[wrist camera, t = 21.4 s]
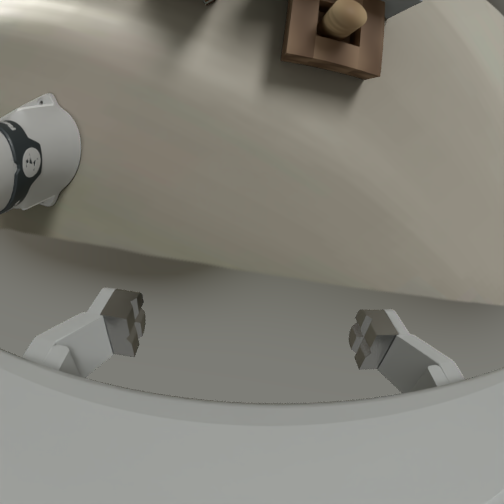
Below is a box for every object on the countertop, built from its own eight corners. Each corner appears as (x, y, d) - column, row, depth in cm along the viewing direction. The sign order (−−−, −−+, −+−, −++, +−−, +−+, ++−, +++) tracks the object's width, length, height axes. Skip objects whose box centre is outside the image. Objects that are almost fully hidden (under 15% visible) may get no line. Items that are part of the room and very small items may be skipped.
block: (280, 60, 31) (286, 52, 27) (289, -10, 26) (295, -24, 21) (364, 79, 32) (380, 76, 28) (370, 11, 27) (385, 2, 22)
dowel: (315, 39, 29) (332, 22, 22) (317, 16, 27) (333, -6, 20) (344, 46, 29) (366, 31, 22) (345, 22, 27) (367, 4, 20)
